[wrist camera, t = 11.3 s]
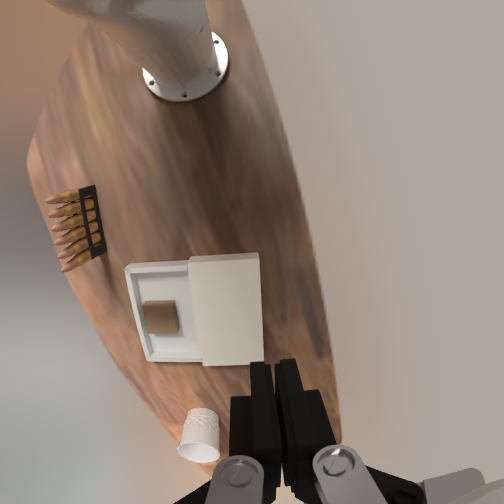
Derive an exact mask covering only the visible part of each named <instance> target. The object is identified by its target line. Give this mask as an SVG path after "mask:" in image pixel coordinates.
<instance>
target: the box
mask: <svg viewBox="0 0 504 504" xmlns="http://www.w3.org/2000/svg"><path fill="white" fill-rule="evenodd" d="M187 262H188V260H178V261H161V262H143V263H130V264H129V265H127V266H126V267H125V268H124V270H125V276H126V281H127V285H128V290H129V295H130V299H131V304H132V308H133V312H134V316H135V320H136V324H137V328H138V332H139V335H140V339H141V343H142V346H143V350H144V353H145V356H146V360H147V361H156V362H202V357H201V351H200V346H199V340H198V334H197V328H196V322H195V316H194V310H193V303H192V297H191V290H190V283H189V275H188V268H187ZM158 300H175V303H176V309H177V315H178V320H179V325H180V329H179V331H178V334H148V330H147V326H146V322H145V318H144V314H143V309H142V305H143V304H144V302H145V301H158Z"/></svg>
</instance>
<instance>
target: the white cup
mask: <svg viewBox="0 0 504 504" xmlns="http://www.w3.org/2000/svg"><path fill="white" fill-rule="evenodd" d="M219 432H220V430H219V417H218V415H217V414H216V413H215V412H214V411H212V410H210V409H208V408H201V407H198V408H193V409H191V410H190V411H188V414H187V417H186V421H185V423H184V426H183V430H182V434H181V438H180V442H179V446H178V452H179V454H180V455H181V456H182V457H183V458H185V459H187V460H190V461H193V462H197V463H210V462H214V461H216V460H217V459H218V458H219V457H220V433H219Z"/></svg>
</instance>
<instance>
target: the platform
mask: <svg viewBox="0 0 504 504" xmlns="http://www.w3.org/2000/svg"><path fill="white" fill-rule="evenodd" d="M187 268H188V275H189V283H190V290H191V297H192V303H193V310H194V316H195V322H196V328H197V334H198V340H199V346H200V351H201V357H202V362H203V366H227V365H248V364H250V362H257V361H264V350H263V327H262V305H261V283H260V262H259V254H258V252H256V253H240V254H224V255H207V256H191V257H190V258H189V260H188V262H187Z"/></svg>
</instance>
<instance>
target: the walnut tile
mask: <svg viewBox="0 0 504 504" xmlns="http://www.w3.org/2000/svg"><path fill="white" fill-rule="evenodd" d="M142 309H143V314H144V318H145V322H146V326H147V330H148V334H178V331H179V329H180V325H179V320H178V315H177V309H176V303H175V300H158V301H145V302H144V304H143V305H142Z"/></svg>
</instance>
